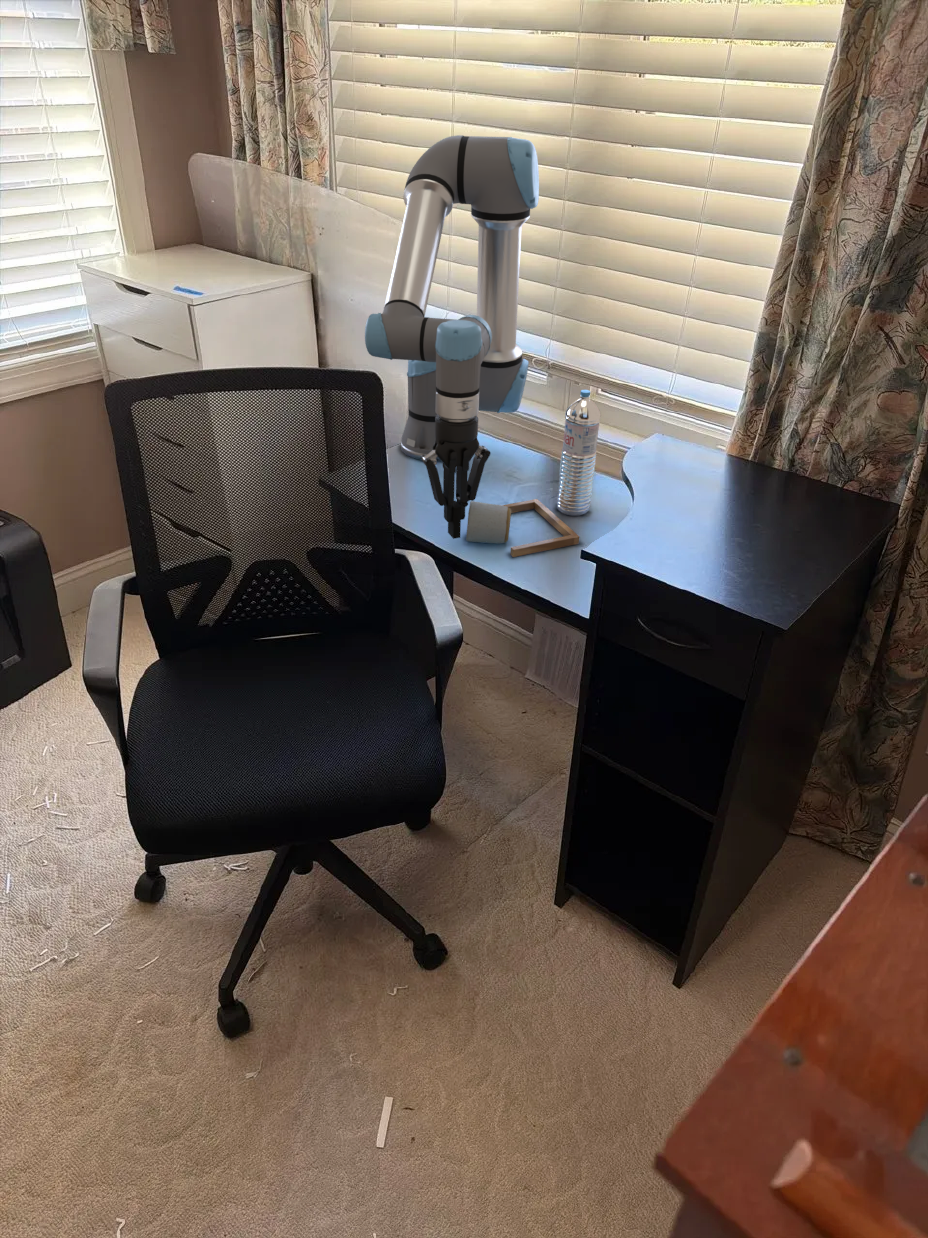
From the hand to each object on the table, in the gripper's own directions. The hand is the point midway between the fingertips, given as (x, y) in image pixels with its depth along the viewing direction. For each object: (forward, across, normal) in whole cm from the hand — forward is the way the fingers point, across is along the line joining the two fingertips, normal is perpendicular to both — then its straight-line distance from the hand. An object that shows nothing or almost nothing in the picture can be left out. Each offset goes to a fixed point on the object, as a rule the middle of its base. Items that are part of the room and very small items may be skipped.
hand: (454, 534), depth 161 cm
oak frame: (+2, +15, 0) cm, 15 cm away
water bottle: (+2, +29, +5) cm, 29 cm away
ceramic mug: (+2, +7, 0) cm, 7 cm away
